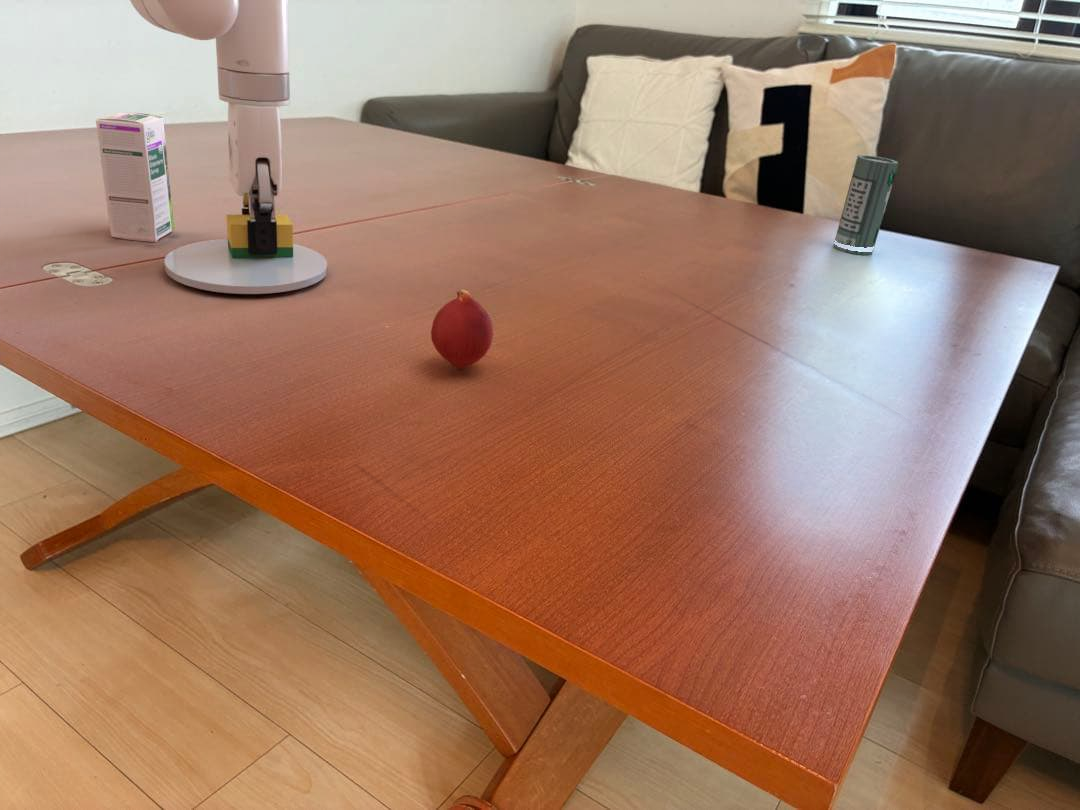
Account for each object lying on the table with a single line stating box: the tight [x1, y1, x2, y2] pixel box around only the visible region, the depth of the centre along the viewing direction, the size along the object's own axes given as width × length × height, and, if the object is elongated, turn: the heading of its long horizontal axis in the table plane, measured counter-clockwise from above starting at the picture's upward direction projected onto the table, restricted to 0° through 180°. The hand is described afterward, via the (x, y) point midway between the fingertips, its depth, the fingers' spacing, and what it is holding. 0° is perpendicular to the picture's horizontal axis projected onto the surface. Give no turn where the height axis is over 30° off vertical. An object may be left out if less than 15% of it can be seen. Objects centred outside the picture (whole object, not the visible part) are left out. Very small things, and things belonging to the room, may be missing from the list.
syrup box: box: [95, 111, 175, 243], centre depth 105 cm, size 6×6×14 cm
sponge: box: [225, 214, 294, 258], centre depth 101 cm, size 7×4×4 cm, turn 114°
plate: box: [163, 238, 328, 295], centre depth 99 cm, size 18×18×2 cm
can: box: [833, 154, 900, 256], centre depth 140 cm, size 6×6×15 cm
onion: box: [430, 289, 494, 370], centre depth 80 cm, size 6×6×8 cm
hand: (259, 246), depth 102 cm, fingers closed on sponge, 4 cm apart
